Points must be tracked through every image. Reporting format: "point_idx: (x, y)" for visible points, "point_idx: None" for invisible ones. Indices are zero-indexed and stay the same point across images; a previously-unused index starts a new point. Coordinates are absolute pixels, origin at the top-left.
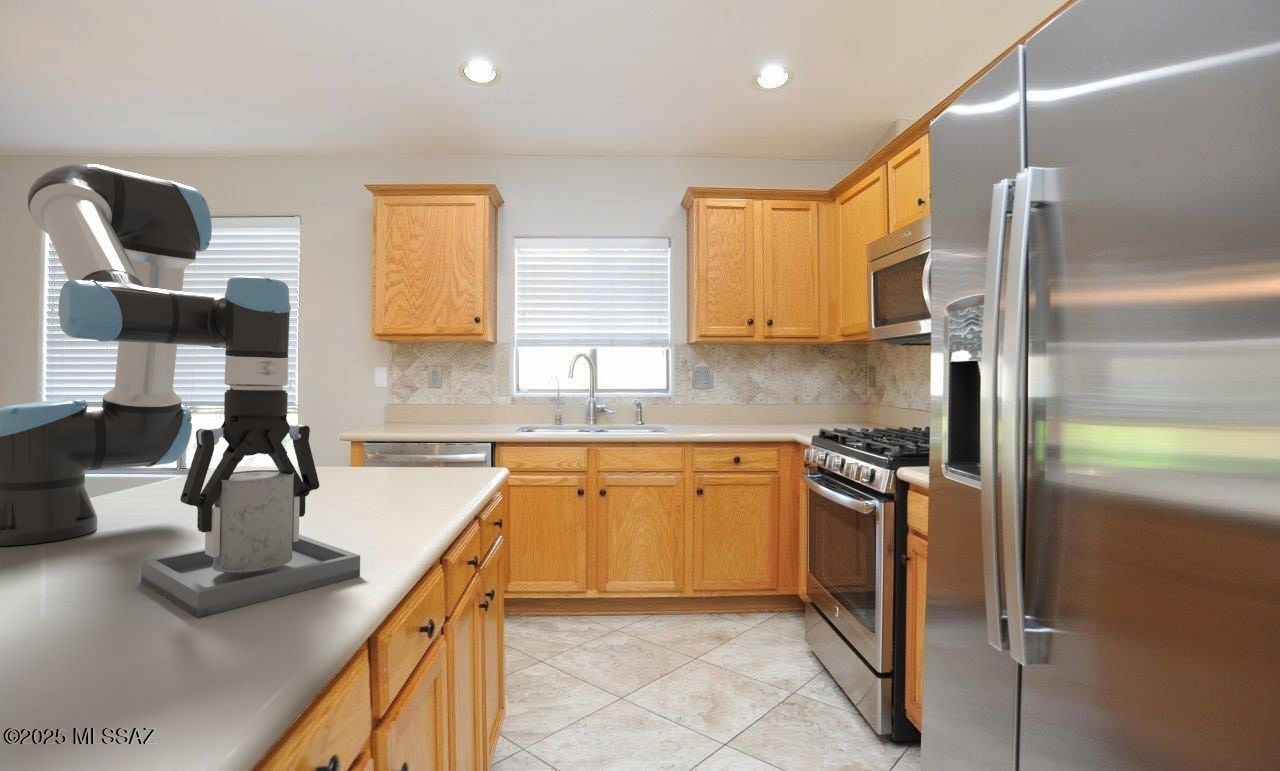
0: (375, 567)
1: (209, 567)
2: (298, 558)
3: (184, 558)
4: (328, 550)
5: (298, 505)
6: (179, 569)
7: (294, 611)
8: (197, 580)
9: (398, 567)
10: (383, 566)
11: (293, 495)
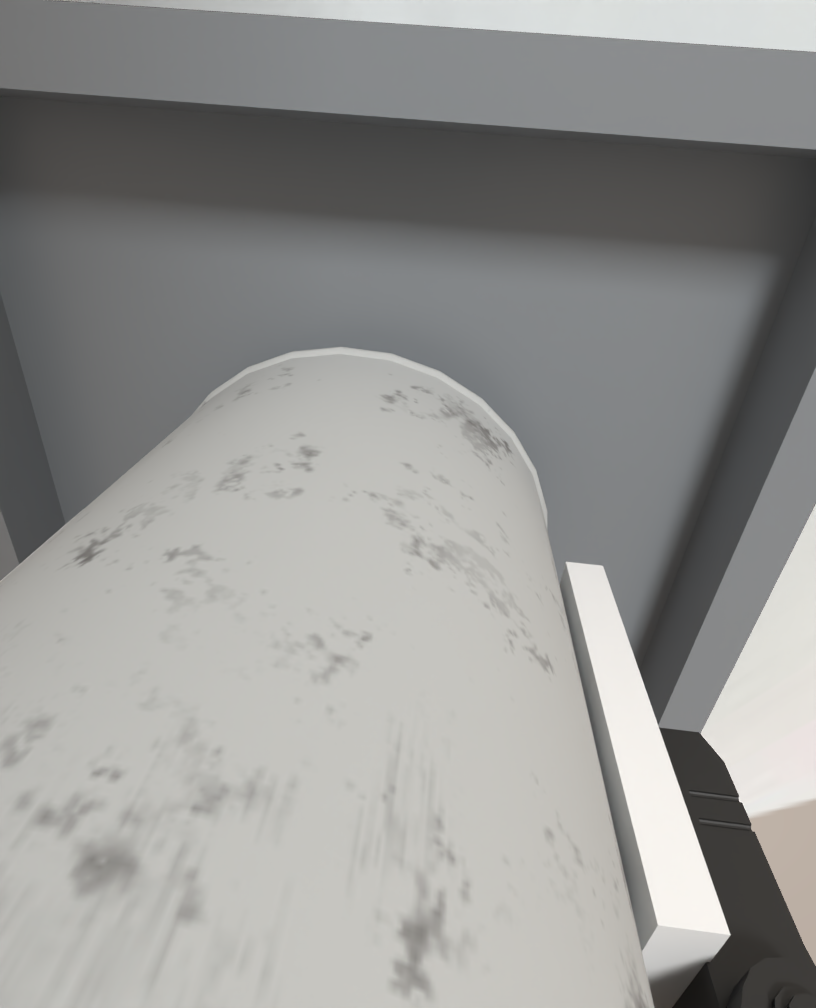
0: (748, 727)
1: (233, 225)
2: (636, 476)
3: (61, 95)
4: (671, 682)
5: None
6: (77, 105)
7: None
8: (133, 428)
9: (782, 781)
10: (773, 740)
11: (689, 976)
